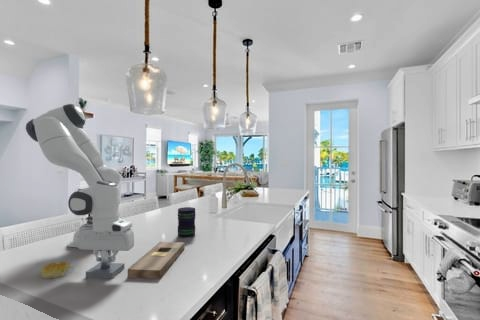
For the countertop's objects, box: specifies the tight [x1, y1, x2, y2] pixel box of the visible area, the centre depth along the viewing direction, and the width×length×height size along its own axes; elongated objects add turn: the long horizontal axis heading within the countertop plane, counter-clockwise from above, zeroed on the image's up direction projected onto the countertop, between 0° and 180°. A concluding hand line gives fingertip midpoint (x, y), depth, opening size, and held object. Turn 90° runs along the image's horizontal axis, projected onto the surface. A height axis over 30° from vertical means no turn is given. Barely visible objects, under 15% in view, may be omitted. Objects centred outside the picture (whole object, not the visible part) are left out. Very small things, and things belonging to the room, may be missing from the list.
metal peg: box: [99, 250, 112, 270], centre depth 92 cm, size 4×4×7 cm
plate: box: [85, 262, 126, 279], centre depth 92 cm, size 10×8×2 cm
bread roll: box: [40, 261, 73, 279], centre depth 91 cm, size 8×9×4 cm
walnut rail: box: [127, 241, 185, 280], centre depth 103 cm, size 12×30×3 cm, turn 176°
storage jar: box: [177, 206, 196, 239], centre depth 139 cm, size 10×10×15 cm
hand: (105, 261), depth 92 cm, fingers closed on metal peg, 4 cm apart
